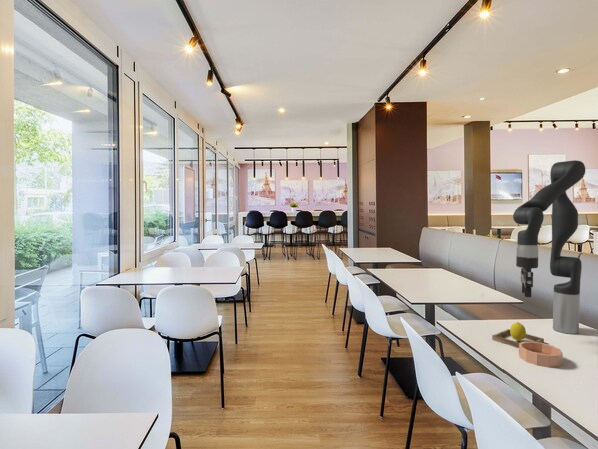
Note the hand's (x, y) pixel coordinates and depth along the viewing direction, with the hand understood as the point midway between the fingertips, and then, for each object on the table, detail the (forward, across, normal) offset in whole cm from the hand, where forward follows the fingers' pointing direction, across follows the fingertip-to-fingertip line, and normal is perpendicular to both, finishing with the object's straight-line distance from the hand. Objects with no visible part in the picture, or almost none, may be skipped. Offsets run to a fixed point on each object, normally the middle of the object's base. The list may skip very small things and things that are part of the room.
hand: (526, 295), depth 141 cm
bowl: (+20, +18, +2) cm, 27 cm away
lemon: (+19, +2, -3) cm, 20 cm away
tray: (+19, +2, -3) cm, 19 cm away
